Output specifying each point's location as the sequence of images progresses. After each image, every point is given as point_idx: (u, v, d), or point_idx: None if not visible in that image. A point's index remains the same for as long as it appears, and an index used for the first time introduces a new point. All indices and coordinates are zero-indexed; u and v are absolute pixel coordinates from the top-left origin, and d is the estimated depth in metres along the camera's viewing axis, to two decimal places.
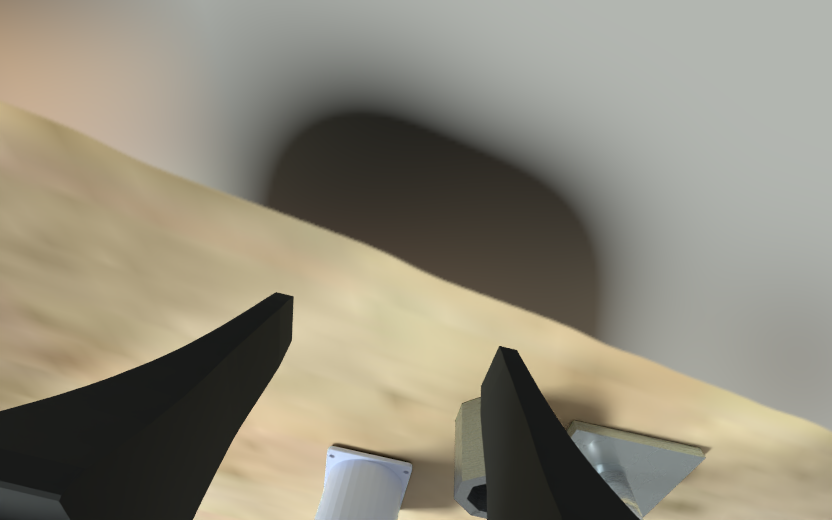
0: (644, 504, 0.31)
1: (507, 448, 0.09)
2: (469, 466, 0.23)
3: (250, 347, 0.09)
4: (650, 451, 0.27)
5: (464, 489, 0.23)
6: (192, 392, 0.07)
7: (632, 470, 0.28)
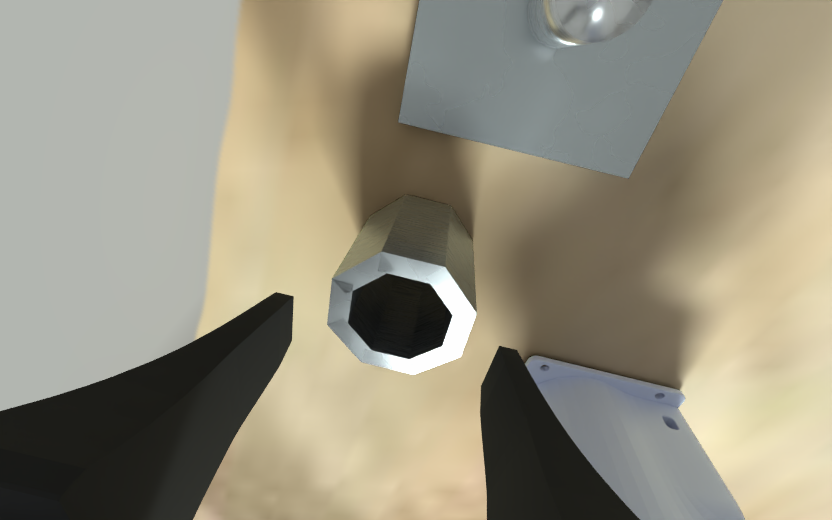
0: None
1: (507, 448, 0.09)
2: None
3: (250, 347, 0.09)
4: None
5: (382, 360, 0.15)
6: (192, 392, 0.07)
7: None
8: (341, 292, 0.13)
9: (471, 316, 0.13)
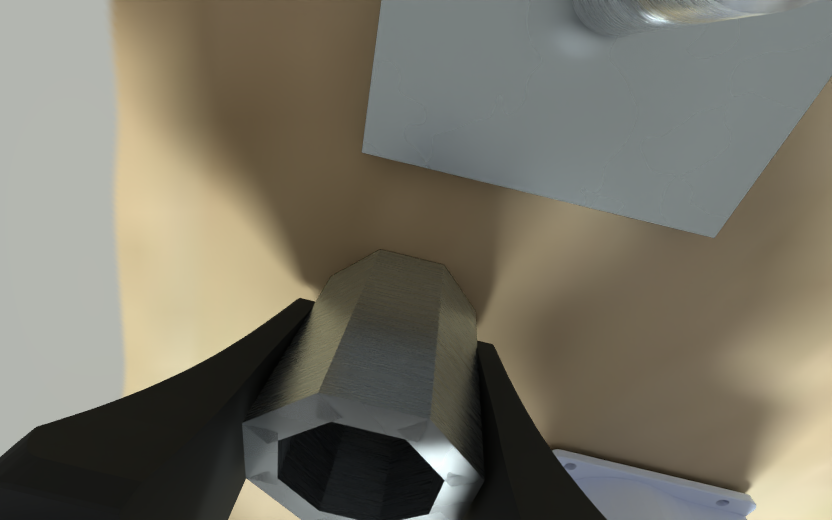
0: None
1: None
2: None
3: (279, 354, 0.09)
4: None
5: None
6: (230, 401, 0.07)
7: None
8: (260, 440, 0.08)
9: (475, 483, 0.08)
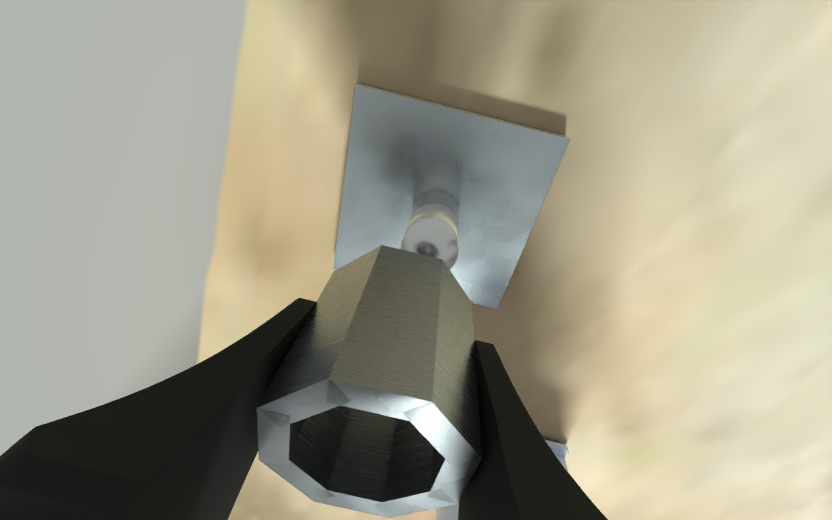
0: (511, 144, 0.16)
1: None
2: None
3: (279, 354, 0.09)
4: (357, 172, 0.18)
5: (343, 501, 0.10)
6: (230, 401, 0.07)
7: (409, 186, 0.18)
8: (273, 424, 0.08)
9: (473, 461, 0.08)
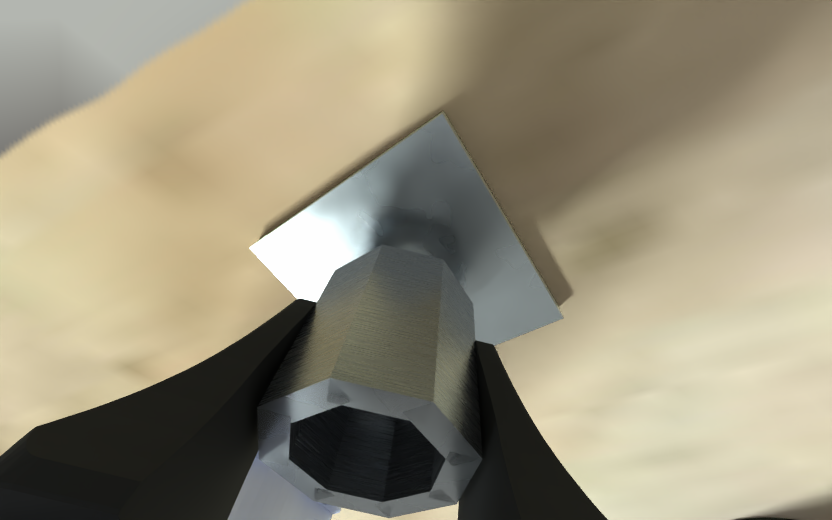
0: (520, 285, 0.15)
1: None
2: None
3: (279, 354, 0.09)
4: (364, 188, 0.14)
5: (343, 501, 0.10)
6: (230, 401, 0.07)
7: (403, 243, 0.15)
8: (273, 424, 0.08)
9: (474, 461, 0.08)
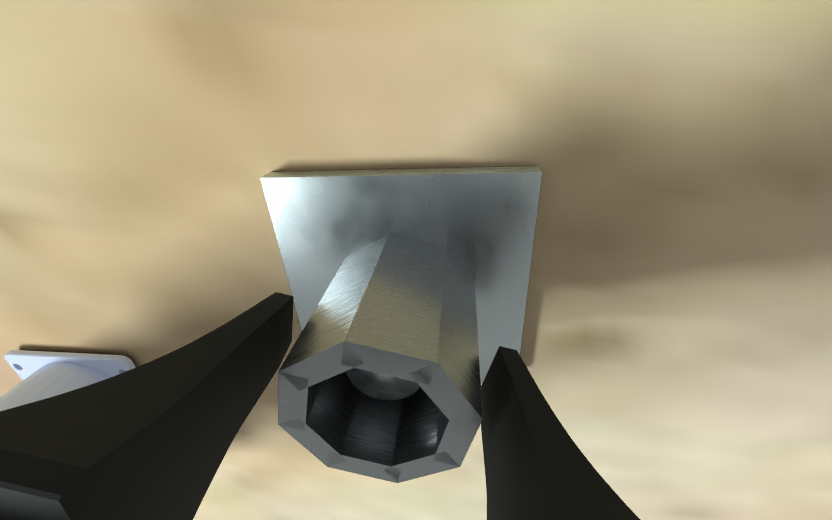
0: (501, 343, 0.15)
1: (507, 448, 0.09)
2: None
3: (250, 347, 0.09)
4: (424, 192, 0.13)
5: (355, 466, 0.11)
6: (192, 392, 0.07)
7: None
8: (292, 388, 0.09)
9: (475, 422, 0.09)
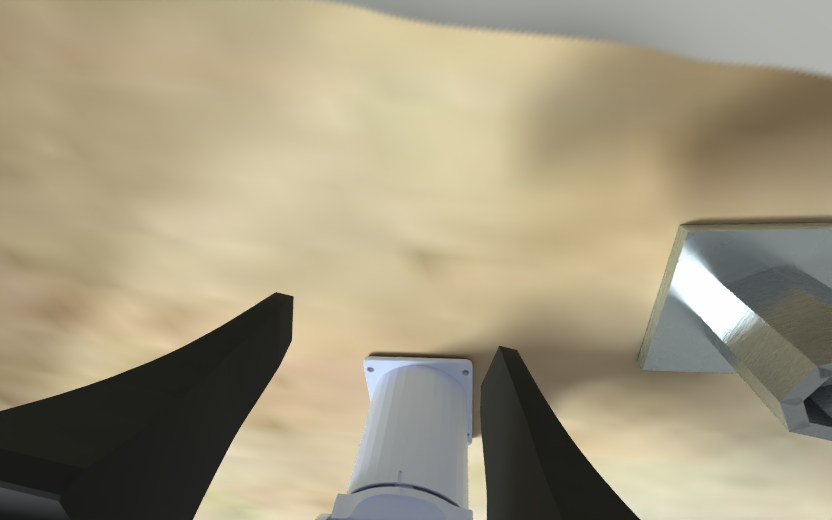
0: None
1: (507, 448, 0.09)
2: (773, 408, 0.17)
3: (250, 347, 0.09)
4: (815, 240, 0.18)
5: (813, 430, 0.16)
6: (192, 392, 0.07)
7: None
8: (817, 377, 0.15)
9: None
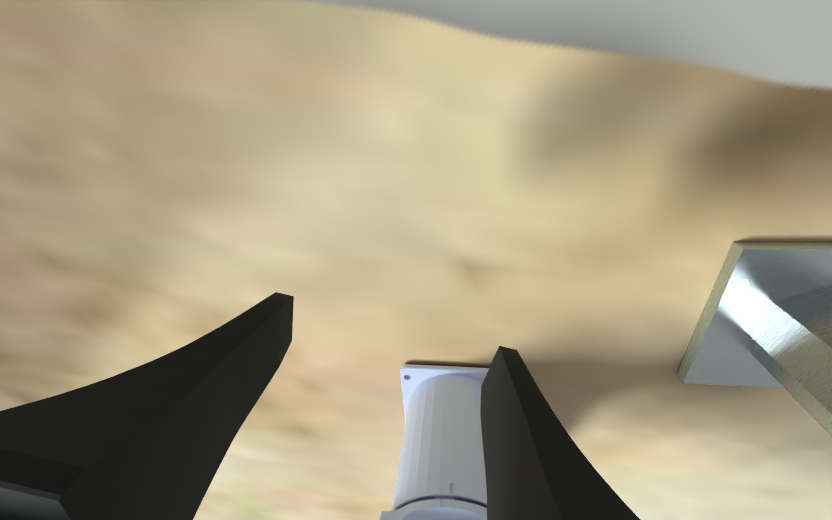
0: None
1: (507, 448, 0.09)
2: (828, 427, 0.17)
3: (250, 347, 0.09)
4: None
5: None
6: (192, 392, 0.07)
7: None
8: None
9: None
